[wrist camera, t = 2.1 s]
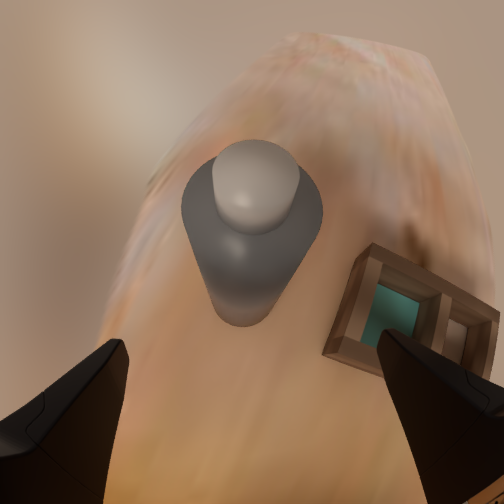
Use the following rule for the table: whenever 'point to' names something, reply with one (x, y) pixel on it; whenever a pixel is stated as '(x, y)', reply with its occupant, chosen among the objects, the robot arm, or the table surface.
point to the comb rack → (407, 313)
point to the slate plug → (250, 226)
